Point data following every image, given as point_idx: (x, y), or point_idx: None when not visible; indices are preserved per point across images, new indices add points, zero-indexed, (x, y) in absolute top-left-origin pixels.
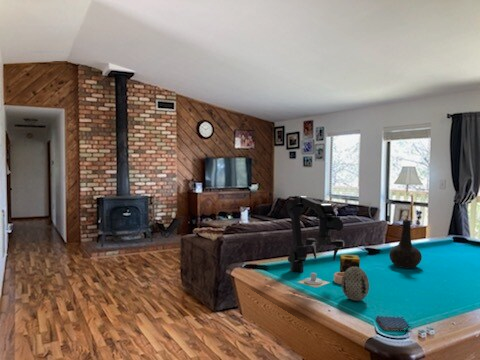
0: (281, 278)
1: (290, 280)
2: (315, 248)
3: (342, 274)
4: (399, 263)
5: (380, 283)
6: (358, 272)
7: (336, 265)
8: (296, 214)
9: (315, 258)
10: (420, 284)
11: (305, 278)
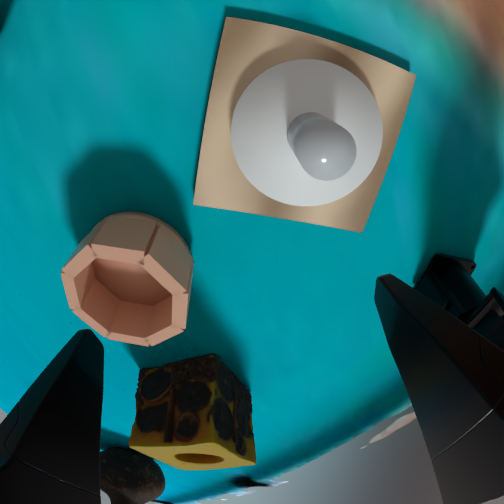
0: (497, 141)
1: (456, 125)
2: (441, 453)
3: (156, 324)
4: (122, 457)
5: (46, 340)
6: None
7: (290, 423)
8: None
9: (383, 279)
10: (4, 369)
11: (381, 145)
